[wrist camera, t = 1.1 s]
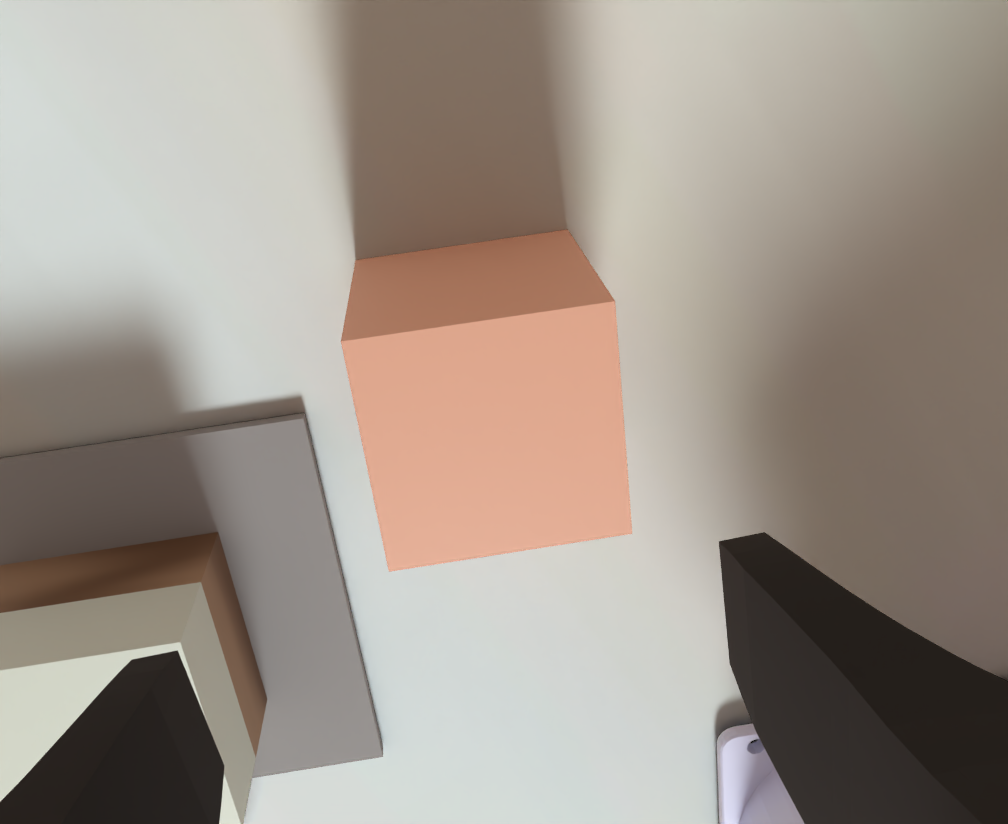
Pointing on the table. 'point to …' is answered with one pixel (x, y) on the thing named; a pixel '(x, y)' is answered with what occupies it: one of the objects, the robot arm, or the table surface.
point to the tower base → (147, 572)
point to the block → (488, 398)
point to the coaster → (248, 550)
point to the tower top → (113, 675)
